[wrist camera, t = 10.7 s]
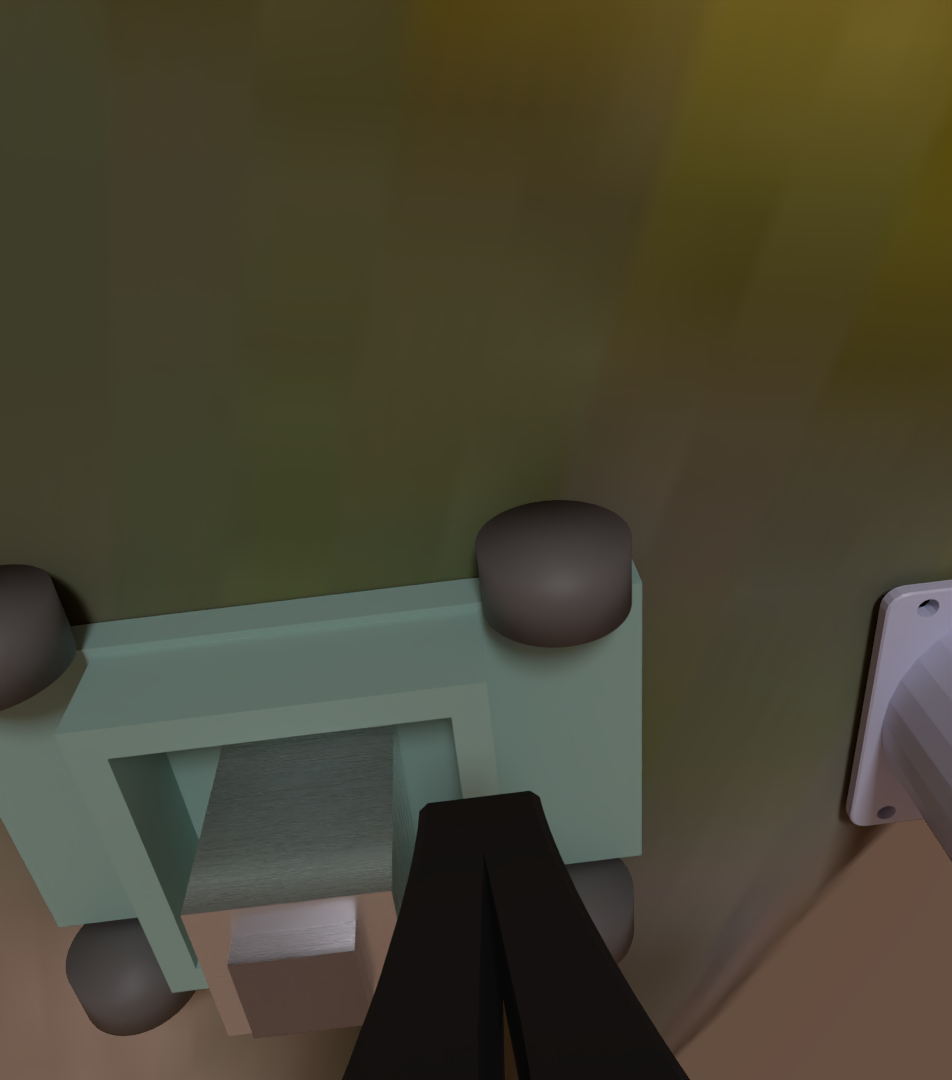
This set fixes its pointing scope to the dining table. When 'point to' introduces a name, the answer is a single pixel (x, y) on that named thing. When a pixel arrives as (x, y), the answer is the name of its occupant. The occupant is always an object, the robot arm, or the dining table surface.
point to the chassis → (318, 729)
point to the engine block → (300, 879)
